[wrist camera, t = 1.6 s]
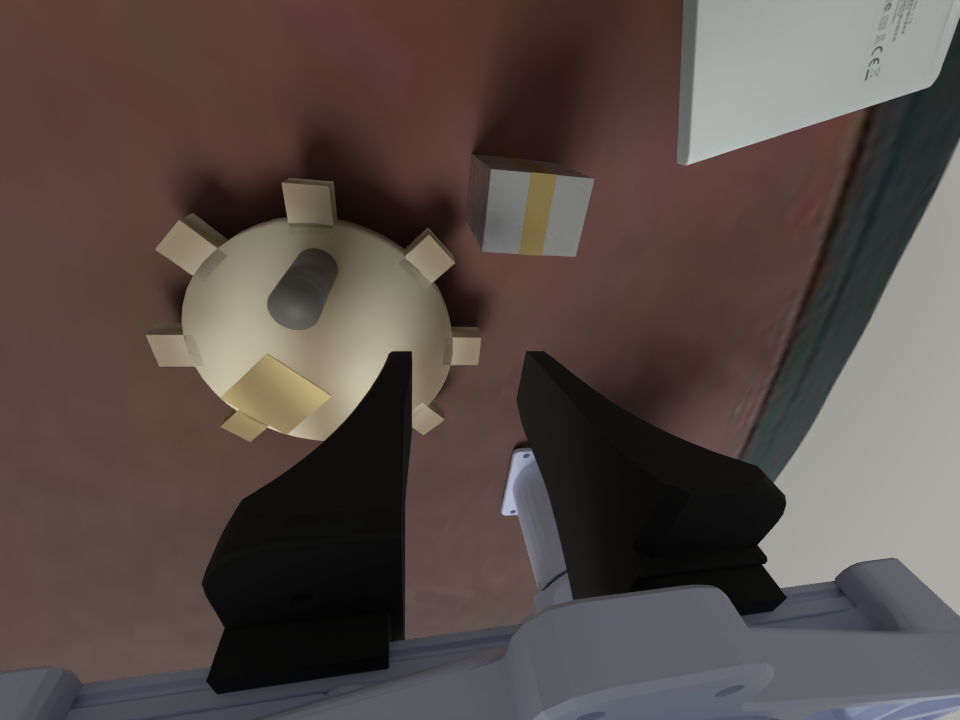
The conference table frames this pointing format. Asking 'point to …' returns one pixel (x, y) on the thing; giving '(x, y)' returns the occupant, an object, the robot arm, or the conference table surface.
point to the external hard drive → (799, 64)
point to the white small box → (526, 205)
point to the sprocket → (309, 316)
